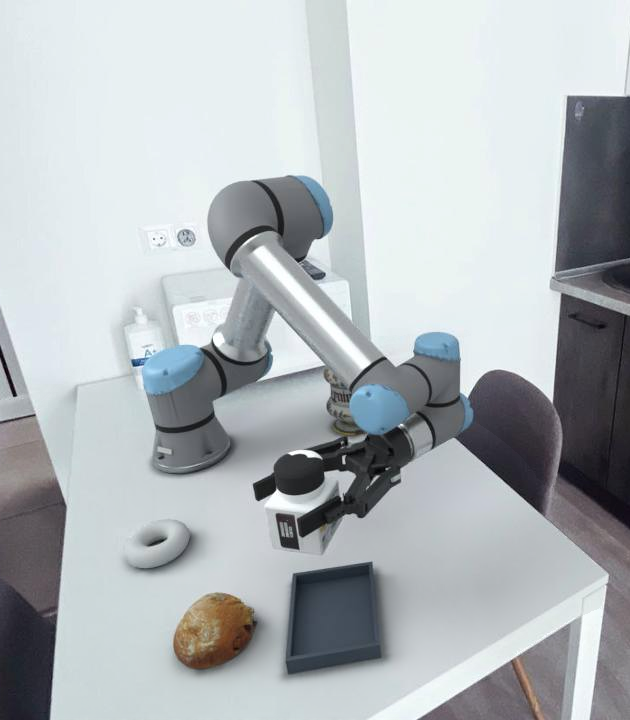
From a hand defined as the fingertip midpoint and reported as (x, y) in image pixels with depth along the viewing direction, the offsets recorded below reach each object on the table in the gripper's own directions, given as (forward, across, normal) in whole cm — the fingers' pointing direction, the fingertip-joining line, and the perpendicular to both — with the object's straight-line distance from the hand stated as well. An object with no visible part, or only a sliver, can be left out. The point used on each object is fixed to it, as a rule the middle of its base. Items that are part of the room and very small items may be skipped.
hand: (276, 509), depth 73 cm
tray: (-3, -6, -18) cm, 19 cm away
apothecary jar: (-40, +35, -18) cm, 56 cm away
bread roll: (+10, +3, -18) cm, 21 cm away
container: (-4, 0, -7) cm, 8 cm away
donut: (+9, +27, -18) cm, 34 cm away
